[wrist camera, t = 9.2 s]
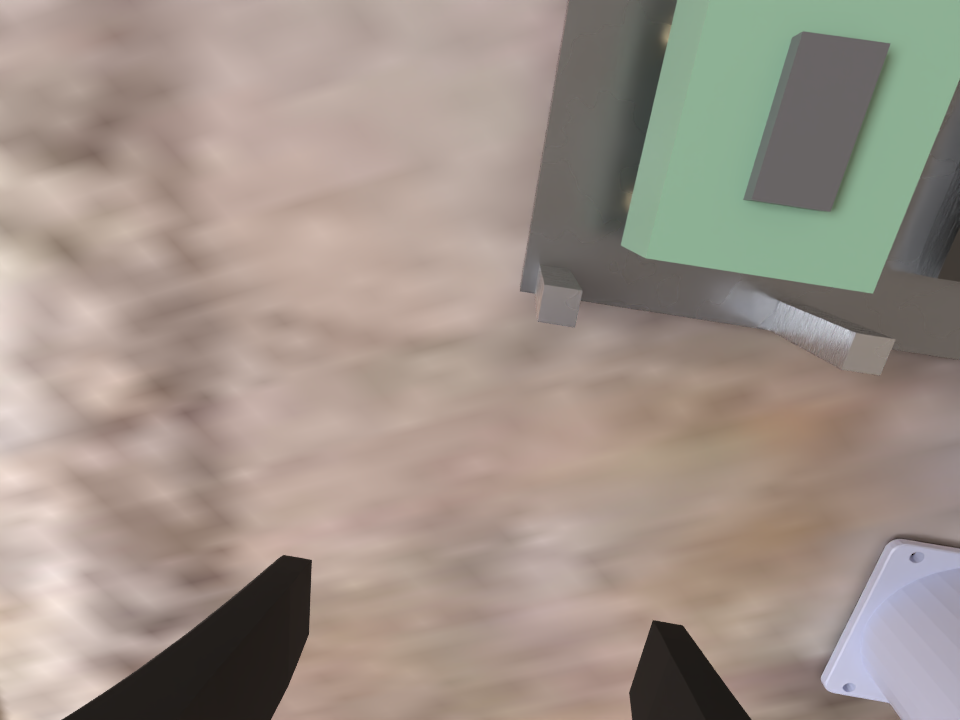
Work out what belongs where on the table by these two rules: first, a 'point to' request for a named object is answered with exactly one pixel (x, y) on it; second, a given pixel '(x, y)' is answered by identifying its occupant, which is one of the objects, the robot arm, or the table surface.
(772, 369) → the table surface
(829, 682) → the robot arm
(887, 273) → the chassis
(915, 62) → the green block
